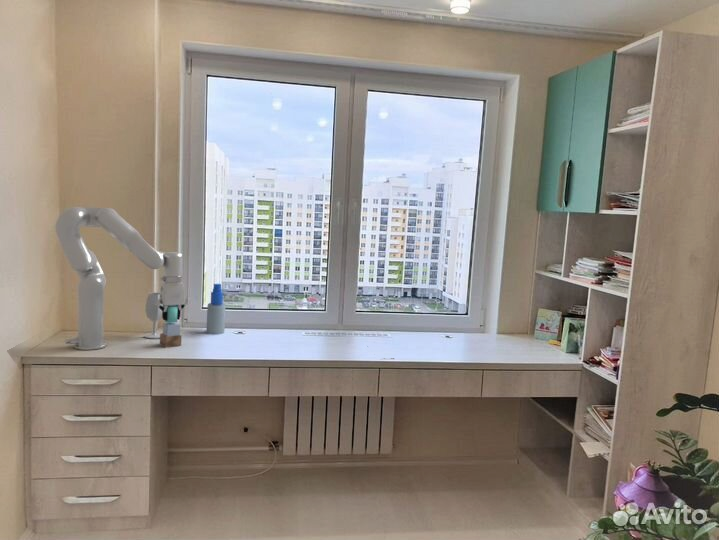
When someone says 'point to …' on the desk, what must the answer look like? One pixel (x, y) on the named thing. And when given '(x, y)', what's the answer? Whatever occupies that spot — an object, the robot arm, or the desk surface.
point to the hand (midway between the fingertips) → (171, 319)
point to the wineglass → (153, 313)
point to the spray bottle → (216, 312)
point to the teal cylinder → (172, 313)
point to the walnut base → (170, 340)
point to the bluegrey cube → (171, 329)
